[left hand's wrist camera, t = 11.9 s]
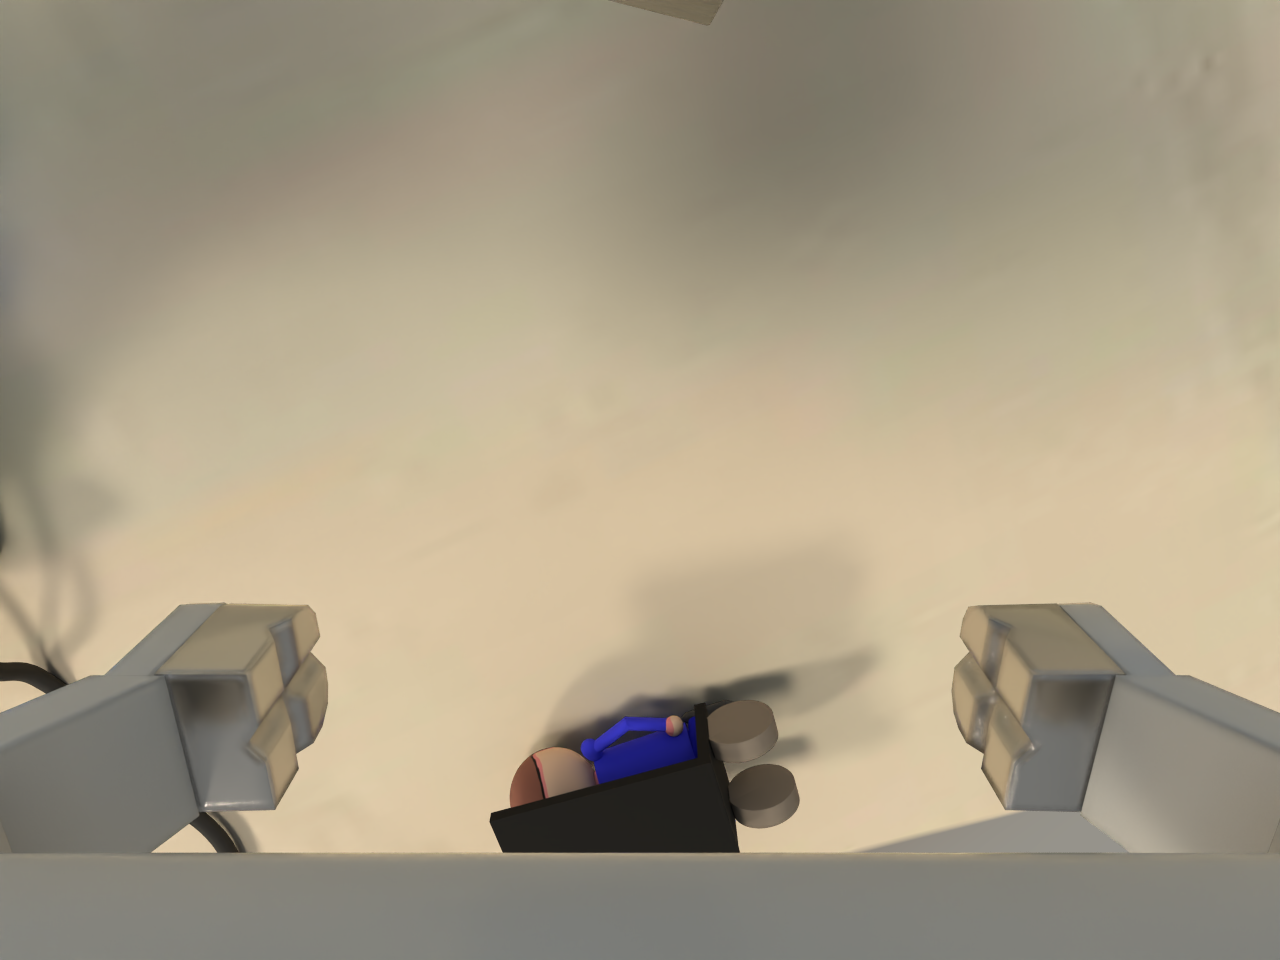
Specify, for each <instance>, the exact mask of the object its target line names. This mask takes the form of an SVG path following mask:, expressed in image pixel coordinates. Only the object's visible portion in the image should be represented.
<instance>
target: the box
mask: <svg viewBox="0 0 1280 960" xmlns="http://www.w3.org/2000/svg"><path fill="white" fill-rule="evenodd" d="M610 1H614V2H618V3H621V4H625V5H629V6H633V7H637V8H641V9H645V10H649V11H653V12H657V13H660V14H664V15H668V16H672V17H676V18H680V19H684V20H688V21H692V22H695V23H699V24H703V25H710V23H711V22H712V20H713V18H714V16H715V15H716V13H717V11H718V9H719V8H720V6H721V4H722V2H723V0H610Z"/></svg>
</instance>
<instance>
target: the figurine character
mask: <svg viewBox="0 0 1280 960" xmlns="http://www.w3.org/2000/svg"><path fill="white" fill-rule="evenodd" d="M694 709H695V710H693V711H690V712H687V713H685V714H684V715H683V716H682V717H681V718H679V717H678V716H670V717H668V718H650V717H626V716H625V717H624V718H623V719H622V720H620V721H619V722H618V723H616V724H615V725H614V726H613V727H611V728H610V729H609V730H607V731H606V732H605V733H604V734H602V735H601V736H600V737H598V738H597V739H596V740H594V739H586V740H584V741H583V742H582V744H581V752H582V754H583V755H584V757H585V758H586V759H588V760H590V761H594V765H595V770H596V771H594V770H593V768H592V766H591V765H590V764H589V763H588V761H587V760H586V759H585V758H584V757H582V756H581V755H580V754H578V753H577V752H575V751H572V750H570V749H566V748H562V747H551V748H546V749H542V750H540V751H538V752H536V753H534V754H532V755H531V756H529V757H528V758H527V759H526V760H525V761H524V762H523V763H522V764H521V766H520V767H519V768H518V770H517V772H516V774H515V776H514V778H513V781H512V784H511V789H510V805H511V808H508V809H504V810H501V811H497V812H493V813H491V817H490V824H491V826H492V829H493V831H494V833H495V836H496V838H497V840H498V842H499V845H500V847H501V849H502V852H503V853H740V851H739V847H738V839H737V831H736V822H735V819H736V820H737V821H738V822H739V823H741V824H743V825H745V826H747V827H751V828H768V827H772V826H776V825H778V824H781V823H783V822H784V821H786V820H787V819H789V818H790V817H791V816H792V815H793V814H794V813H795V812H796V810H797V808H798V806H799V801H800V799H799V794H798V791H797V787H796V783H795V780H794V777H793V775H792V773H791V772H790V771H789V770H788V769H786V768H784V767H782V766H779V765H774V764H763V765H757V766H753V767H750V768H748V769H745V770H744V771H742V772H740V773H739V774H738V775H736V776H735V777H734V778H733V779H732V781H731V782H730V783H729V780H728V776H727V773H726V770H725V767H724V763H723V762H728V763H741V762H746V761H750V760H753V759H756V758H758V757H760V756H762V755H764V754H765V753H767V752H768V751H769V750H770V749H771V748H772V747H773V746H774V745H775V743H776V741H777V739H778V730H777V727H776V723H775V720H774V716H773V712H772V710H771V708H770V707H769V706H768V705H766V704H764V703H762V702H759V701H754V700H743V701H736V702H733V701H728V700H723V701H720V702H717V703H714V704H711V705H708V706H706V704H705V703H701V704H697V705H694ZM683 722H684V723H683ZM685 722H686V723H688V728H687V726H686V723H685ZM629 730H630V731H657V732H654V733H651V734H648V735H645V736H642V737H639V738H636V739H633V740H630V741H627V742H624V743H621V744H618V745H615V746H612V747H609V748H607V747H608V746H610V745H611V744H612V743H614V742H615V741H616V740H617V739H619V738H620V737H621V736H623V735H624V734H625V733H626V732H628V731H629Z"/></svg>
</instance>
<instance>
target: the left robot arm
mask: <svg viewBox="0 0 1280 960" xmlns="http://www.w3.org/2000/svg"><path fill="white" fill-rule="evenodd" d="M319 638H320V633H319V628H318V623H317V618H316V613H315V612H314V611H313V610H312V609H311V608H310V607H309V606H308V605H282V604H226V603H193V604H184V605H179V606H178V607H177V608H176V609H175V610H174V611H173V612H172V613H171V614H170V615H169V616H167V617H166V618H165V619H164V620H163V621H162V622H161V623H160V624H159V625H158V626H157V627H156V628H155V629H153V630H152V631H151V632H150V633H149V634H148V635H147V636H146V637H145V638H144V639H143V640H142V641H141V642H139V643H138V644H137V645H136V646H135V647H134V648H133V649H132V650H131V651H130V652H129V653H128V654H127V655H125V656H124V657H123V658H122V659H121V660H120V661H119V662H118V663H117V664H116V665H115V666H114V667H113V668H112V669H110V670H109V671H108V672H107V673H106V674H105V675H90V676H88V677H86V678H83V679H81V680H78V681H76V682H74V683H71V684H69V685H66V684H65V683H64V682H62V681H61V680H60V679H58V678H57V677H55V676H54V675H52V674H50V673H49V672H47V671H45V670H44V669H42V668H40V667H38V666H35V665H32V664H28V663H22V662H11V663H1V662H0V681H22V682H26V683H28V684H30V685H32V686H34V687H36V688H38V689H39V690H41V691H43V692H44V693H46V694H45V695H42V696H40V697H38V698H35V699H33V700H30V701H28V702H26V703H23V704H21V705H18V706H16V707H13V708H11V709H9V710H6V711H4V712H1V713H0V960H1280V713H1278V712H1276V711H1273V710H1271V709H1269V708H1266V707H1264V706H1261V705H1259V704H1257V703H1254V702H1252V701H1250V700H1247V699H1245V698H1242V697H1240V696H1238V695H1235V694H1233V693H1230V692H1228V691H1226V690H1223V689H1221V688H1218V687H1216V686H1214V685H1211V684H1209V683H1206V682H1204V681H1202V680H1199V679H1197V678H1194V677H1192V676H1190V675H1175V674H1174V673H1173V672H1172V671H1171V670H1170V669H1169V668H1167V667H1166V666H1165V665H1164V664H1163V663H1162V662H1161V661H1160V660H1159V659H1158V658H1157V657H1156V656H1155V655H1154V654H1152V653H1151V652H1150V651H1149V650H1148V649H1147V648H1146V647H1145V646H1144V645H1143V644H1142V643H1141V642H1140V641H1139V640H1137V639H1136V638H1135V637H1134V636H1133V635H1132V634H1131V633H1130V632H1129V631H1128V630H1127V629H1126V628H1125V627H1124V626H1122V625H1121V624H1120V623H1119V622H1118V621H1117V620H1116V619H1115V618H1114V617H1113V616H1112V615H1111V614H1110V613H1108V612H1107V611H1106V610H1105V609H1104V608H1103V607H1102V606H1100V605H1097V604H1094V603H1067V604H1019V605H978V606H971V607H968V609H967V611H966V613H965V615H964V617H963V621H962V627H961V632H960V638H961V639H962V641H963V642H964V644H965V645H966V647H967V649H968V650H969V653H968V654H967V655H966V656H965V657H964V658H963V659H962V660H961V661H960V662H959V663H958V664H957V665H956V666H955V668H954V676H953V683H952V700H953V711H954V715H955V718H956V722H957V725H958V728H959V730H960V732H961V734H962V736H963V737H964V739H965V741H966V743H967V744H969V745H971V746H972V747H974V748H975V749H977V750H979V751H980V752H982V753H983V754H984V756H983V762H982V767H981V769H982V771H983V773H984V774H985V776H986V778H987V780H988V781H989V783H990V785H991V786H992V788H993V790H994V792H995V793H996V795H997V797H998V798H999V800H1000V802H1001V804H1002V805H1003V807H1004V809H1005V810H1027V811H1063V812H1081V816H1082V817H1083V818H1085V819H1086V820H1087V821H1089V822H1090V823H1091V824H1093V825H1094V826H1095V827H1097V828H1098V829H1099V830H1100V831H1102V832H1103V833H1104V834H1106V835H1107V836H1108V837H1110V838H1111V839H1112V840H1114V841H1115V842H1116V843H1118V844H1119V845H1120V846H1122V847H1123V848H1124V849H1126V850H1127V851H1128V852H1129V853H238V851H237V849H236V847H235V845H234V843H233V842H232V840H231V839H230V837H229V836H228V835H227V833H226V832H225V831H224V830H223V829H222V827H221V826H220V825H219V824H218V823H217V822H216V821H215V820H214V819H212V818H211V817H210V816H209V815H208V814H207V813H205V812H216V811H251V810H275V809H276V807H277V805H278V804H279V802H280V800H281V799H282V797H283V795H284V793H285V792H286V790H287V788H288V786H289V785H290V783H291V781H292V780H293V778H294V776H295V774H296V773H297V771H298V769H299V767H298V762H297V756H296V754H297V753H298V752H300V751H301V750H303V749H305V748H306V747H308V746H309V745H311V744H313V743H314V741H315V739H316V737H317V735H318V734H319V732H320V730H321V728H322V726H323V722H324V717H325V713H326V709H327V705H328V681H327V674H326V668H325V666H324V665H323V664H322V663H321V662H320V661H319V660H318V659H317V658H316V657H315V656H314V655H313V654H312V653H311V650H312V649H313V647H314V645H315V644H316V642H317V641H318V639H319ZM188 824H191V825H192V826H193V827H194V828H196V829H197V830H198V831H199V832H200V833H201V834H202V835H203V836H204V837H206V838H207V840H208V841H209V842H210V843H211V844H212V846H213V847H214V848H215V850H216V851H217V853H151V852H152V851H153V850H155V849H156V848H157V847H159V846H160V845H161V844H163V843H164V842H165V841H167V840H168V839H169V838H171V837H172V836H173V835H175V834H176V833H177V832H179V831H180V830H181V829H182V828H184V827H185V826H186V825H188Z"/></svg>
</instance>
